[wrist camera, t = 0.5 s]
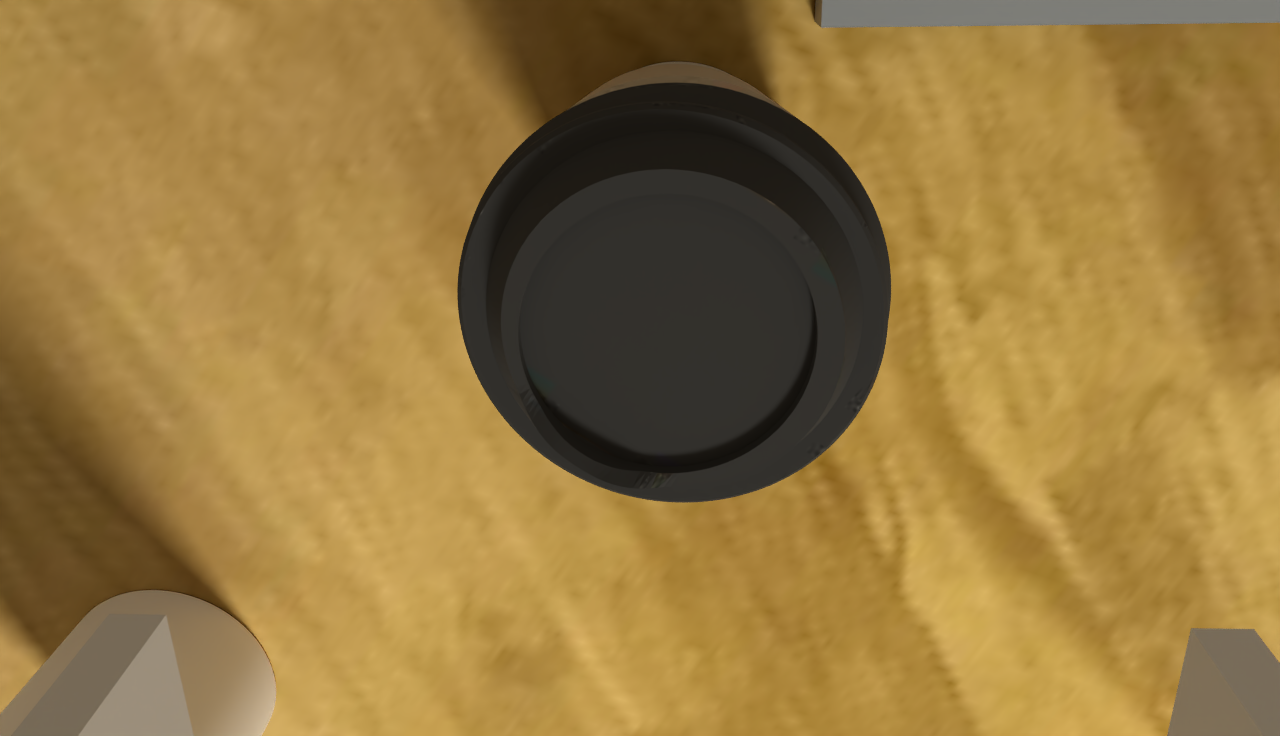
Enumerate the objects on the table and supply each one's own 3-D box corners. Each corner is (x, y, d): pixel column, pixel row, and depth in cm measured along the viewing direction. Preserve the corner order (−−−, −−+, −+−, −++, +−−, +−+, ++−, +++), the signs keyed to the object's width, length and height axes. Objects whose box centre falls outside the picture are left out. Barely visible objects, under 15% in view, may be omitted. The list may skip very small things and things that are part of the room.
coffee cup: (645, -41, 32) (609, -5, 18) (884, 138, 34) (1015, 294, 20) (484, 204, 35) (349, 392, 22) (710, 357, 37) (720, 623, 23)
